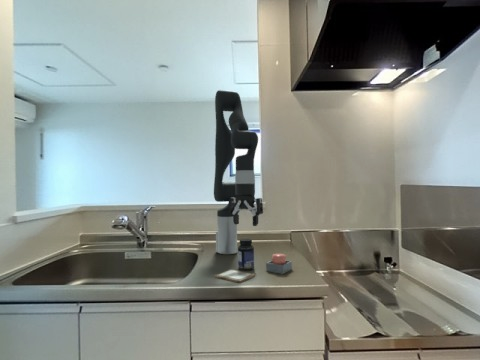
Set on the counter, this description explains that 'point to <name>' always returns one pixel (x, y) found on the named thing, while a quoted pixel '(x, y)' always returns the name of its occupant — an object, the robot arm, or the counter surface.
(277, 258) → the button
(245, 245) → the pill bottle
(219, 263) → the counter surface
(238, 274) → the picture frame
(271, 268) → the button collar
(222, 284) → the counter surface
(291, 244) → the counter surface
